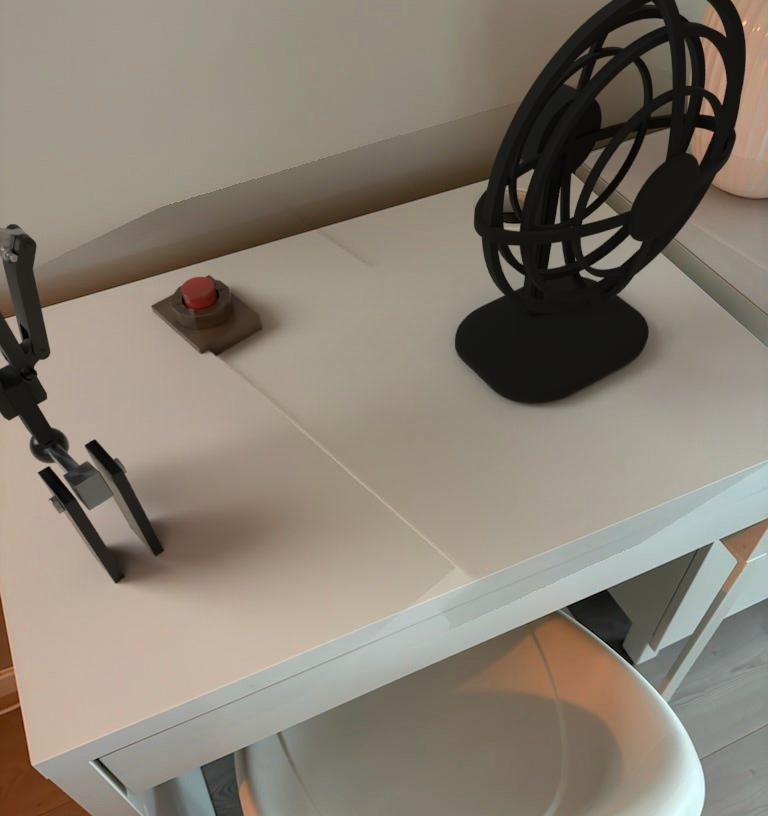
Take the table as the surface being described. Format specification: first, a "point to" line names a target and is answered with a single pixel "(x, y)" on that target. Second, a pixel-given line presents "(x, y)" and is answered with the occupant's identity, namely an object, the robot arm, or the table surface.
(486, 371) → the desk fan
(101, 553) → the bracket
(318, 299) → the table surface
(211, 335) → the button block
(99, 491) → the lever
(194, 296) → the button
